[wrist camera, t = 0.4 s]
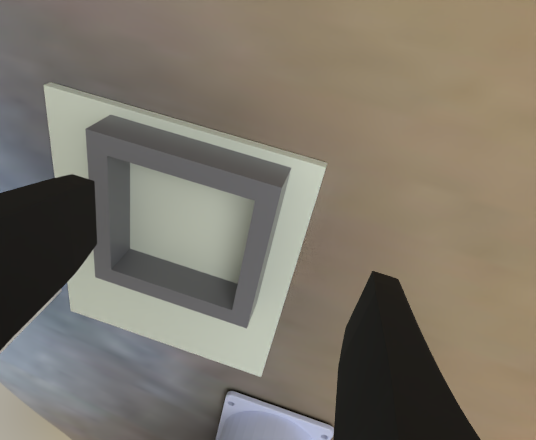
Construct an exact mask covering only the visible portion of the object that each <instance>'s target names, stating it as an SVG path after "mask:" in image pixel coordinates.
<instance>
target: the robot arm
mask: <svg viewBox="0 0 536 440" xmlns="http://www.w3.org/2000/svg"><path fill="white" fill-rule="evenodd" d="M96 245H97V227H96V204H95V181H93V180H89V179H86V178H83V177H80V176H77V175H74V174H71V175H66V176H61V177H57V178H53V179H49V180H45V181H42V182H38V183H35V184H31V185H27V186H24V187H20V188H17V189H13V190H10V191H6V192H3V193H0V350H1V349H2V348H3V347H4V346H5V345H6V344H7V343H8V342H9V341H10V340H11V339H12V338H13V337H14V335H15V334H16V333H17V332H18V331H19V330H20V329H21V328H22V327H23V326H24V325H25V324H26V323H27V322H28V321H29V320H30V319H31V318H32V317H33V316H34V315H35V314H36V313H37V312H38V311H39V310H40V309H41V308H42V307H43V306H44V305H45V304H46V303H47V302H48V301H49V300H50V299H51V298H52V297H53V296H54V295H55V294H56V293H57V292H58V291H59V290H60V289H61V288H62V287H63V286H64V285H65V284H66V283H67V282H68V281H69V280H70V279H71V278H72V277H73V275H74V274H75V273H76V272H77V271H78V269H79V268H80V267H81V265H82V264H83V263H84V262H85V260H86V259H87V257H88V256H89V255H90V253H91V252H92V250H93V249H94V248H95V246H96ZM333 434H334V440H480V438H479V437H478V435H477V434H476V432H475V430H474V429H473V427H472V426H471V424H470V423H469V421H468V420H467V418H466V416H465V415H464V413H463V411H462V410H461V408H460V406H459V405H458V403H457V401H456V399H455V398H454V396H453V394H452V392H451V390H450V389H449V387H448V385H447V383H446V381H445V379H444V378H443V376H442V374H441V372H440V370H439V368H438V366H437V364H436V362H435V360H434V358H433V356H432V354H431V352H430V350H429V348H428V346H427V343H426V341H425V339H424V337H423V335H422V333H421V331H420V328H419V326H418V324H417V322H416V319H415V317H414V315H413V313H412V310H411V308H410V306H409V303H408V301H407V298H406V296H405V294H404V291H403V289H402V287H401V284H400V282H399V280H398V279H396V278H393V277H390V276H387V275H384V274H381V273H378V272H375V271H372V273H371V275H370V277H369V280H368V282H367V284H366V286H365V288H364V290H363V292H362V294H361V297H360V299H359V301H358V303H357V305H356V307H355V309H354V311H353V313H352V316H351V318H350V320H349V322H348V324H347V326H346V329H345V334H344V339H343V344H342V350H341V355H340V361H339V367H338V380H337V395H336V410H335V425H334V429H333V427H332V426H330V425H328V424H325V423H322V422H320V421H317V420H314V419H311V418H308V417H305V416H303V415H300V414H297V413H294V412H291V411H288V410H286V409H283V408H280V407H277V406H274V405H271V404H269V403H266V402H263V401H260V400H257V399H255V398H252V397H249V396H246V395H243V394H240V393H238V392H235V391H229V392H227V395H226V397H225V402H224V406H223V410H222V414H221V419H220V423H219V427H218V431H217V435H216V440H331V438H332V437H333Z"/></svg>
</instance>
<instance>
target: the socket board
mask: <svg viewBox="0 0 536 440" xmlns="http://www.w3.org/2000/svg"><path fill="white" fill-rule="evenodd" d="M44 93H45V101H46V110H47V118H48V126H49V134H50V143H51V151H52V159H53V168H54V176H55V178H57V177H61V176H66V175H71V174H74V175H77V176H80V177H83V178H86V179H89V180H93V181H95V204H96V227H97V245H96V246H95V248H94V249H93V250H92V252H91V253H90V255H89V256H88V257H87V259H86V260H85V262H84V263H83V264H82V265H81V267H80V268H79V269H78V271H77V272H76V273H75V274H74V275H73V277H72V278H71V279H70V280H69V281H68V282H67V283H68V292H69V300H70V308H71V311H73V312H76V313H78V314H81V315H84V316H87V317H90V318H93V319H96V320H99V321H101V322H104V323H107V324H110V325H113V326H116V327H119V328H122V329H124V330H127V331H130V332H133V333H136V334H139V335H142V336H145V337H147V338H150V339H153V340H156V341H159V342H162V343H165V344H168V345H170V346H173V347H176V348H179V349H182V350H185V351H188V352H191V353H193V354H196V355H199V356H202V357H205V358H208V359H211V360H214V361H216V362H219V363H222V364H225V365H228V366H231V367H234V368H236V369H239V370H242V371H245V372H248V373H251V374H254V375H257V376H259V377H261V376H262V372H263V369H264V366H265V363H266V360H267V356H268V353H269V350H270V347H271V343H272V340H273V337H274V334H275V331H276V327H277V324H278V321H279V318H280V314H281V311H282V308H283V305H284V302H285V298H286V295H287V292H288V289H289V285H290V282H291V279H292V276H293V273H294V269H295V266H296V263H297V260H298V256H299V253H300V250H301V247H302V244H303V240H304V237H305V234H306V231H307V227H308V224H309V221H310V218H311V215H312V211H313V208H314V205H315V202H316V198H317V195H318V192H319V189H320V186H321V182H322V179H323V176H324V173H325V169H326V166H327V163H326V162H323V161H319V160H316V159H312V158H309V157H306V156H302V155H299V154H295V153H292V152H288V151H285V150H282V149H278V148H275V147H271V146H268V145H264V144H261V143H257V142H254V141H251V140H247V139H244V138H240V137H237V136H233V135H230V134H227V133H223V132H220V131H216V130H213V129H209V128H206V127H203V126H199V125H196V124H192V123H189V122H185V121H182V120H179V119H175V118H172V117H168V116H165V115H161V114H158V113H154V112H151V111H148V110H144V109H141V108H137V107H134V106H130V105H127V104H124V103H120V102H117V101H113V100H110V99H106V98H103V97H100V96H96V95H93V94H89V93H86V92H82V91H79V90H75V89H72V88H69V87H65V86H62V85H58V84H55V83H51V82H50V83H47V84H44Z"/></svg>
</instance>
